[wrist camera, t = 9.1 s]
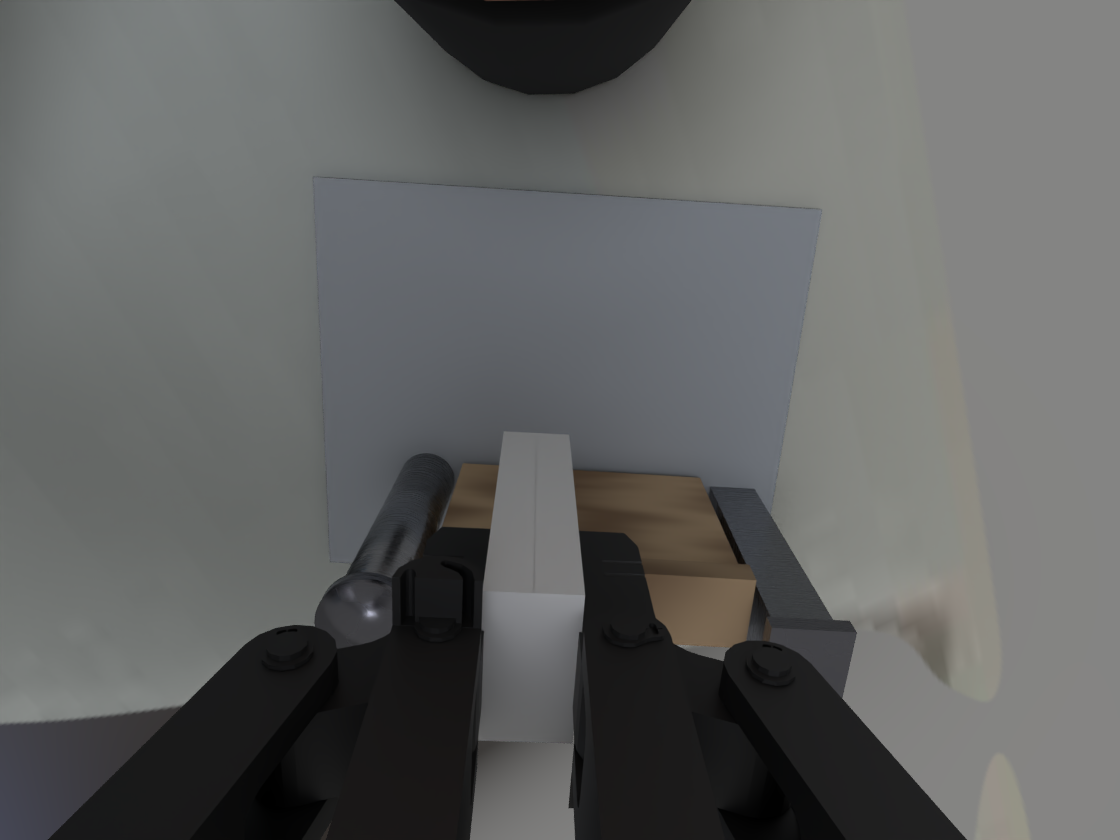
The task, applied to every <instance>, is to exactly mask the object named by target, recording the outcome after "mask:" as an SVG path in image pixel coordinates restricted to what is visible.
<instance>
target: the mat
mask: <svg viewBox="0 0 1120 840" xmlns="http://www.w3.org/2000/svg"><path fill="white" fill-rule="evenodd" d="M313 186H314V209H315V231H316V254H317V277H318V300H319V322H320V345H321V368H322V390H323V413H324V436H325V458H326V481H327V504H328V527H329V549H330V562H340V563H352V562H353V561H354V559H355V557H356V555H357V553H358V551H359V549H360V547H361V545H362V543H363V542H364V540H365V538H366V536H367V534H368V532H369V530H370V528H371V526H372V524H373V523H374V521H375V519H376V517H377V515H378V513H379V511H380V509H381V507H382V505H383V504H384V502H385V500H386V498H387V496H388V494H389V492H390V490H391V488H392V487H393V485H394V483H395V481H396V479H397V477H398V475H399V473H400V471H401V469H402V468H403V466H404V464H405V463H406V461H407V460H409V459H410V458H411V457H413V456H415V455H418V454H423V453H430V454H435V455H437V456H439V457H441V458H443V459H444V460H445V461H447V462H448V464H449V465H450V466H451V468H452V470H453V473H454V479H455V481H454V486H453V489H452V492H451V495H450V498H449V501H448V504H447V507H446V510H445V513H444V516H443V519H442V522H441V525H440V528H441V527H442V525H443V522H444V519H445V516H446V513H447V510H448V507H449V504H450V501H451V498H452V495H453V492H454V489H455V486H456V483H457V480H458V477H459V474H460V471H461V468H462V464H463V463H468V464H485V465H499V463H500V456H501V448H502V441H503V433H504V431H507V432H527V433H547V434H566V435H569V438H570V448H571V458H572V468H573V470H583V471H599V472H615V473H632V474H648V475H664V476H681V477H697V478H700V479H701V481H702V483H703V486H704V488H705V490H706V492H707V495H708V497H709V491H710V486H714V487H732V488H749V489H755V490H756V492H757V494H758V495H759V497H760V499H761V500H762V502H763V504H764V505H765V507H766V509H767V510H768V512H769V514H770V515H771V509H772V503H773V497H774V491H775V485H776V479H777V473H778V467H779V462H780V456H781V450H782V444H783V438H784V432H785V426H786V420H787V414H788V408H789V403H790V397H791V391H792V385H793V379H794V373H795V367H796V361H797V355H798V349H799V344H800V338H801V332H802V326H803V320H804V314H805V308H806V302H807V296H808V291H809V285H810V279H811V273H812V267H813V261H814V255H815V249H816V243H817V237H818V232H819V226H820V220H821V214H822V210H821V209H809V208H793V207H778V206H762V205H747V204H731V203H716V202H700V201H685V200H669V199H653V198H638V197H622V196H607V195H591V194H576V193H560V192H545V191H529V190H514V189H498V188H482V187H467V186H451V185H436V184H420V183H405V182H389V181H374V180H358V179H343V178H327V177H313ZM440 528H439V529H440Z"/></svg>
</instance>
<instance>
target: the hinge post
mask: <svg viewBox="0 0 1120 840" xmlns="http://www.w3.org/2000/svg"><path fill="white" fill-rule="evenodd" d="M454 481H455V479H454V473H453V470H452V468H451V466H450V465H449V464H448V462H447V461H445V460H444V459H443V458H441V457H439V456H437V455H435V454H430V453H423V454H418V455H415V456H413V457H411V458H410V459H409V460H407V461H406V463H405V464H404V466H403V468H402V469H401V471H400V473H399V475H398V477H397V479H396V481H395V483H394V485H393V487H392V488H391V490H390V492H389V494H388V496H387V498H386V500H385V502H384V504H383V505H382V507H381V509H380V511H379V513H378V515H377V517H376V519H375V521H374V523H373V524H372V526H371V528H370V530H369V532H368V534H367V536H366V538H365V540H364V542H363V543H362V545H361V547H360V549H359V551H358V553H357V555H356V557H355V559H354V561H353V562H352V564H351V566H350V568H349V570H348V572H347V574H346V576H344V577H342V578H340V579H338V580H337V581H335V582H334V583H333V584H332V585H331V586H330V587H329V588H328V590H327V591H326V593H325V594H324V596H323V598H322V600H321V602H320V604H319V605H318V607H317V610H316V614H315V627H316V628H319V629H322V630H325V631H327V632H328V633H329V634H330V635H331V636H332V637H333V638H334V639H335V641H336V647H337V649H338V648H344V647H350V646H356V645H361V644H365V643H369V642H372V641H375V640H377V639H380V638H382V637H384V636H386V635H387V634H389V633H390V632H391V628H392V576H393V575H394V573H395V572H396V570H397V569H398V568H399V567H401V566H403V565H404V564H406V563H408V562H409V561H412V560H416V559H419V558H422V557H423V553H424V550H425V546H426V543H427V539H428V538H430V537H431V536H432V535H433V534H434V533H435V532H437V531H438V530H439V528H440V525H441V522H442V519H443V516H444V513H445V510H446V507H447V504H448V501H449V498H450V495H451V492H452V489H453V486H454Z"/></svg>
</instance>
